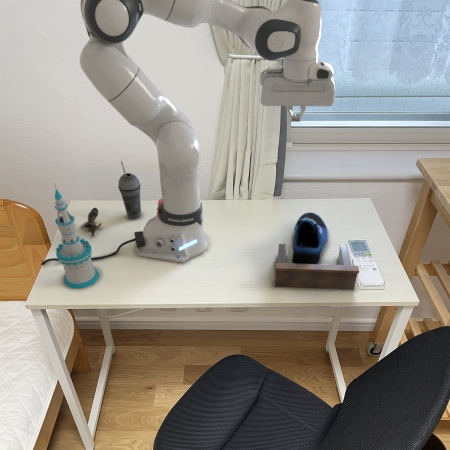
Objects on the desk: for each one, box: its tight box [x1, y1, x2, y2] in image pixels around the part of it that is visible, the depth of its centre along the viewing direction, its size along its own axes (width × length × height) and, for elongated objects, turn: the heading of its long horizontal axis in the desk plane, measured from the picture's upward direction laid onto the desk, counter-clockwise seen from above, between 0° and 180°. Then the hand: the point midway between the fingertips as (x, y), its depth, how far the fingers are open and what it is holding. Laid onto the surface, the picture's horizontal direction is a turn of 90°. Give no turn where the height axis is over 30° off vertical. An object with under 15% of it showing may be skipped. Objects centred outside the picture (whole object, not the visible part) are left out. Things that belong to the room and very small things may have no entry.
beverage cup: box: [117, 160, 142, 221], centre depth 151 cm, size 7×7×20 cm
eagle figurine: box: [80, 207, 102, 237], centre depth 150 cm, size 8×7×9 cm
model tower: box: [53, 183, 100, 290], centre depth 123 cm, size 10×10×30 cm
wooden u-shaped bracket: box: [274, 243, 360, 291], centre depth 131 cm, size 23×14×7 cm, turn 86°
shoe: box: [291, 211, 329, 264], centre depth 138 cm, size 11×30×12 cm, turn 168°
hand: (295, 121), depth 130 cm, fingers closed
